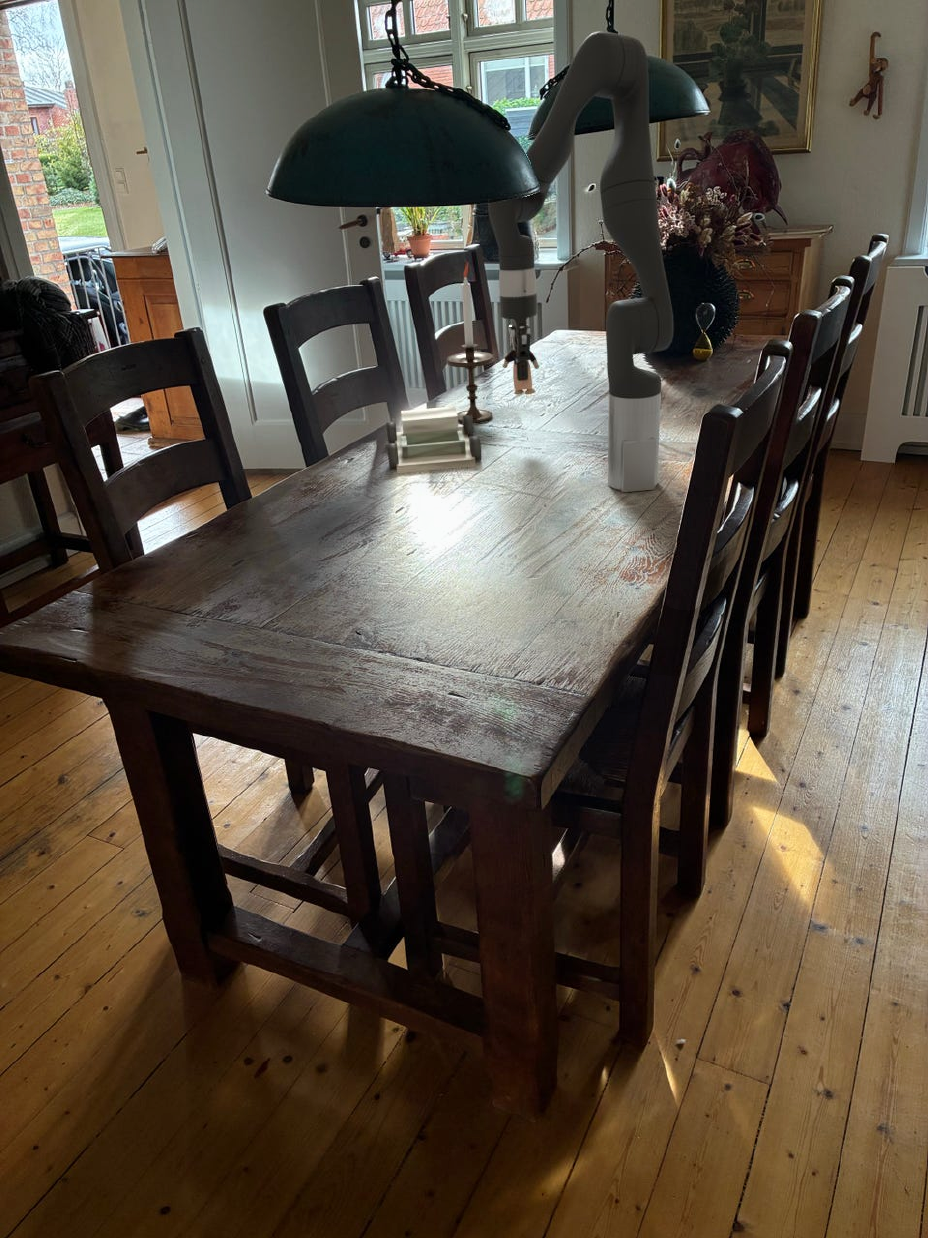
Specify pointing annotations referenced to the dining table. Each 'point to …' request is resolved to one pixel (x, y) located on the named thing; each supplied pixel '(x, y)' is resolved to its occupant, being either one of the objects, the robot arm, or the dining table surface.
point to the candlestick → (470, 359)
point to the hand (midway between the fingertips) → (521, 377)
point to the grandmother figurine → (517, 384)
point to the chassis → (432, 441)
